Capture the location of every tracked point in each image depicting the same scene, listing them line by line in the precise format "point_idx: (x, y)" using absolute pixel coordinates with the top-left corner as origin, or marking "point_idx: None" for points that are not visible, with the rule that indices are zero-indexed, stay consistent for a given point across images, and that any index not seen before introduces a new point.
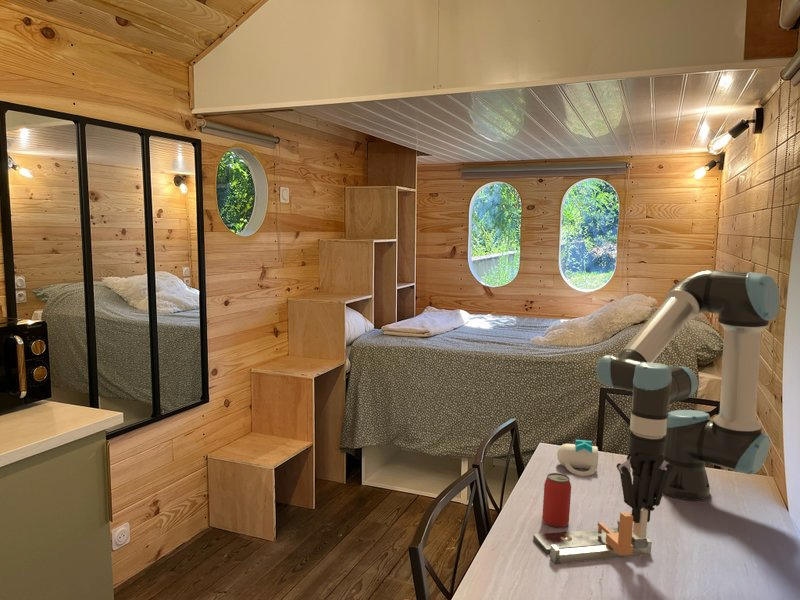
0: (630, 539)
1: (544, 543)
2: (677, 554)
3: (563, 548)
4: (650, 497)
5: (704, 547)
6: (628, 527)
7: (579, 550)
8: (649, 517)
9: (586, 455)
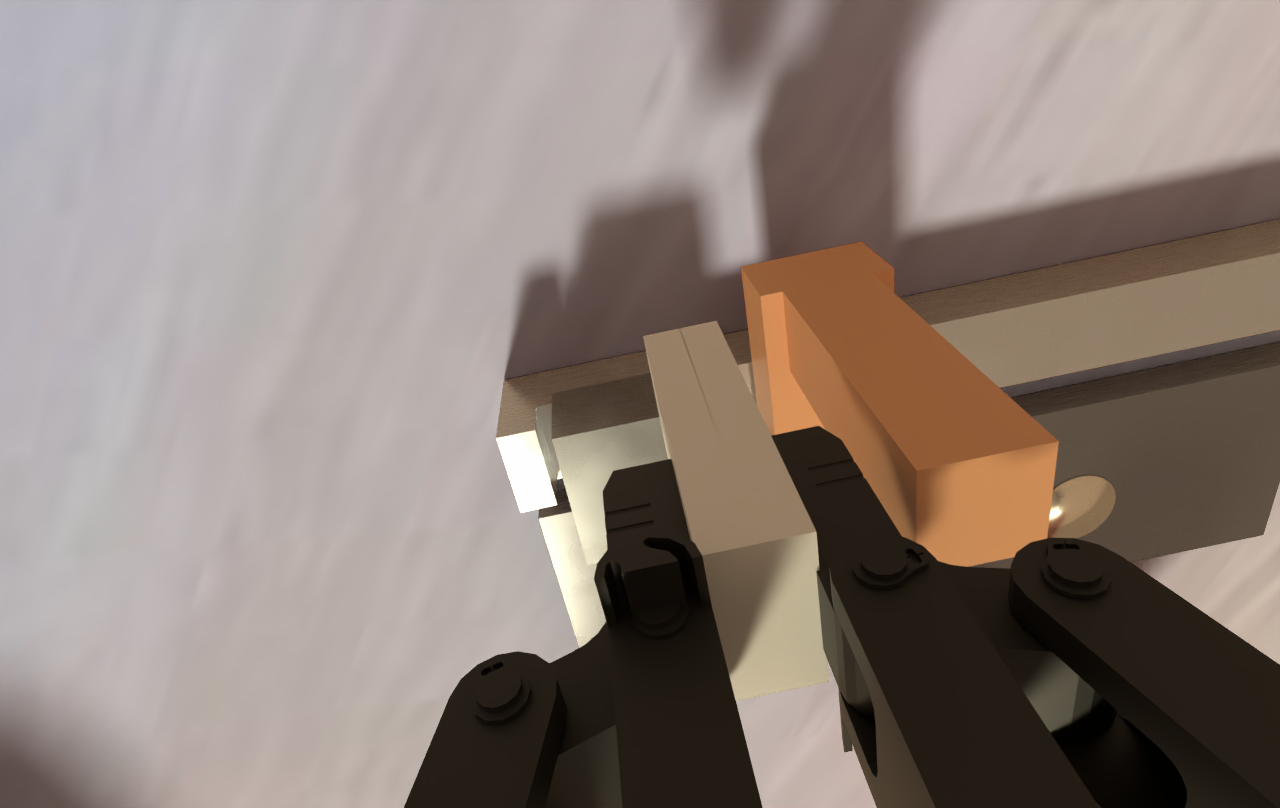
0: (815, 315)
1: (1277, 431)
2: (273, 401)
3: (1177, 383)
4: (704, 793)
5: (12, 511)
6: (911, 370)
7: (1142, 318)
8: (614, 510)
9: None
